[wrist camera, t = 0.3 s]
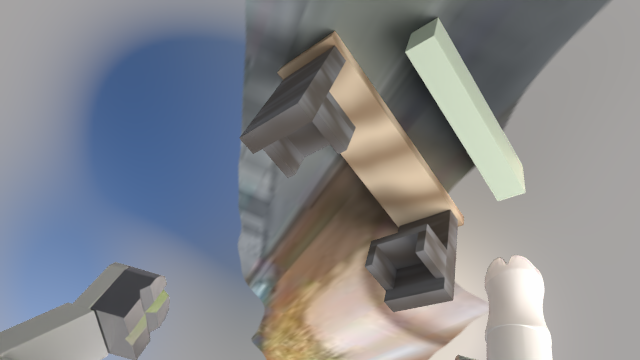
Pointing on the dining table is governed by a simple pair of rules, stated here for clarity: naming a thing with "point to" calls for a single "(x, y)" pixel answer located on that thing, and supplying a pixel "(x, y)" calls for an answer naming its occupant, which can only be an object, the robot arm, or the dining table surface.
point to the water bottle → (516, 312)
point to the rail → (465, 109)
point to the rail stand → (365, 167)
